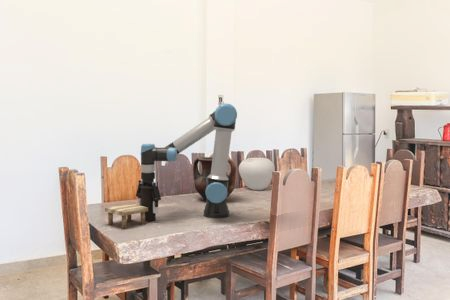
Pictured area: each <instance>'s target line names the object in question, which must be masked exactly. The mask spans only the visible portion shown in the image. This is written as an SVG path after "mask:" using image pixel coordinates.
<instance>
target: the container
mask: <svg viewBox="0 0 450 300" xmlns="http://www.w3.org/2000/svg"><path fill="white" fill-rule="evenodd" d="M140 188H141V206H144V207H148V211H146V212H145V223H153V222H156V219H157V218H156V217H157V216H156V215H157V213H153V201H154V199H153V197H152V194H151V190H154V189H153V186H147V185H141V186H140Z"/></svg>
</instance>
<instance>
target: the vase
mask: <svg viewBox="0 0 450 300" xmlns="http://www.w3.org/2000/svg"><path fill="white" fill-rule="evenodd" d="M275 170H276V167H275V164H274V163H273V161H272V160H270V159H269V158H266V157H248V158H244V159H243V160H242V161H241V162H240V164H239V165H238V173H239V175H240V178H241V180H242V182H243V183H244V185H245V186H246V187H247V188H249V189H251V190H252V191H263V190H265V189H266V188H267V187H268V186H269V185H270V183H271V181H272V179H273V177H272V172H274V171H275ZM275 172H276V171H275ZM275 172H274V173H275Z"/></svg>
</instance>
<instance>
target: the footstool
mask: <svg viewBox="0 0 450 300" xmlns="http://www.w3.org/2000/svg"><path fill="white" fill-rule="evenodd" d="M146 211H148V207H144V206H140V205H139V204H134V203H131V202H130V203H123V204H118V205H112V206H107V207H105V208H104V212H106V213H107V215H108V216H107V220H108V221H107V223H108V226H112V225H113V224H114V215H117V216H121V229H123V230H126V229H128V228H127V227H128V226H127V224H128V223H127V222H131V221H132V215H136V214H140V225H141V224H142V225H143V224H144V225H146V222H145V212H146Z"/></svg>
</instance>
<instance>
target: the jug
mask: <svg viewBox="0 0 450 300" xmlns="http://www.w3.org/2000/svg"><path fill="white" fill-rule="evenodd" d="M212 159H213V156H211V157H210V156H209V157H208V156H198V157H196V158H195V159H194V161H193V164H192V174H193V182H194V183H193V186H194V189H195V190H196V192H197V193H198V194H199V196H200V197H202V199H203V201H204V202H205V203H206V202H207V197H206V194H205V191H206V186H207V182H206V180H207V177H208V176H209V175H210V174H211V167H212ZM199 162H200V163H201V173H200V171H199V165H198V163H199ZM228 165H229V166H230V173H229V174H228V172H227V173H226V176H227V178H228V179H229V180H228V188H227V198H226V202H227V199H228V197H230V195H231V194H232V192H233V191H234V190H235V187H236V180H237V179H236V178H237V177H236V175H237V166H236V163H235V161H234V160H233V159H232V158H231V157H228Z"/></svg>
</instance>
